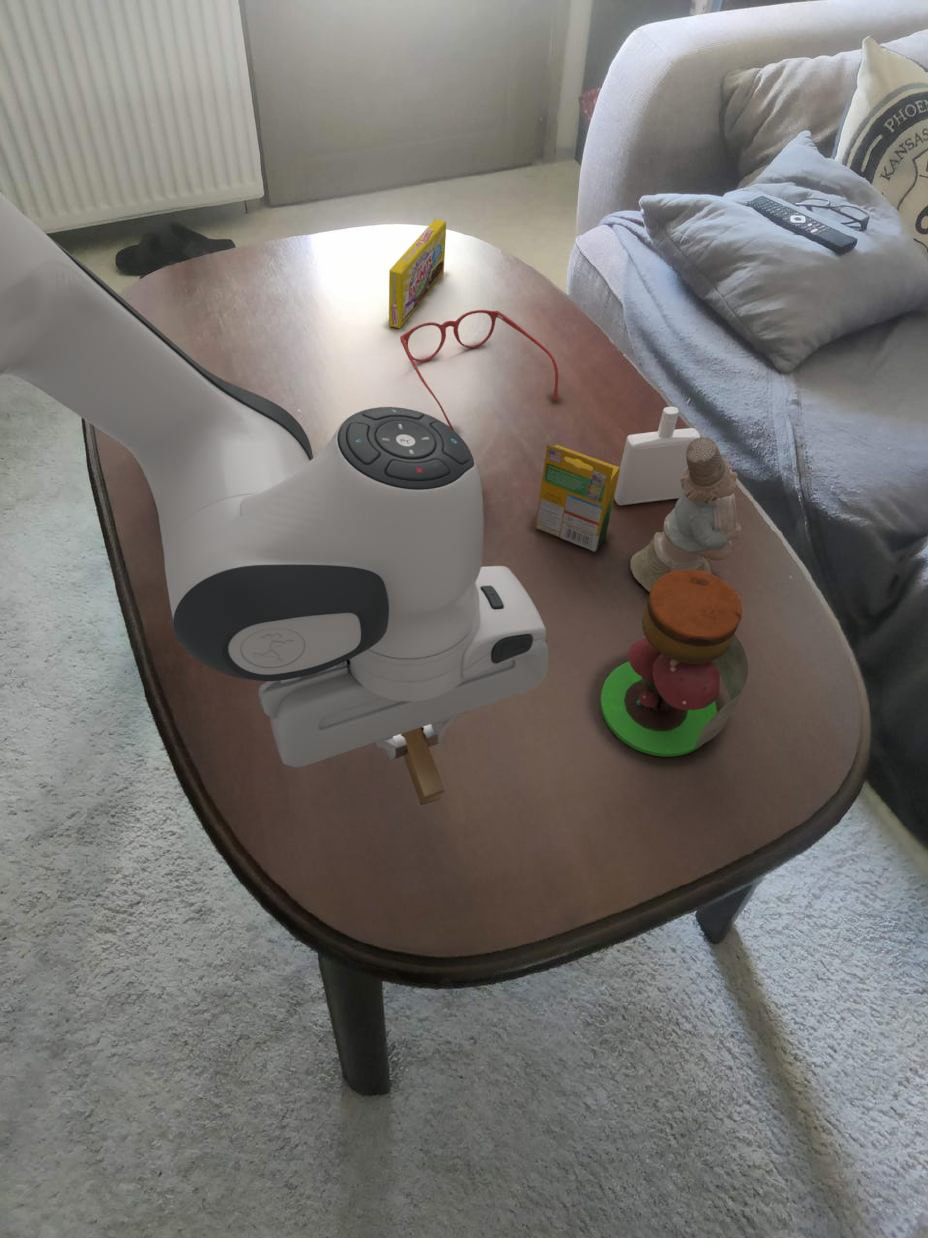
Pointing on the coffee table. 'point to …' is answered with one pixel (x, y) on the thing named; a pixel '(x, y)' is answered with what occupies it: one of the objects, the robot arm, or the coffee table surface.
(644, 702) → the toy burger
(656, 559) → the figurine
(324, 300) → the coffee table surface
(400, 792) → the coffee table surface
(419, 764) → the fork
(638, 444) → the perfume bottle
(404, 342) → the red eyeglasses
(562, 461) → the crayon box
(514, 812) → the coffee table surface
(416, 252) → the candy box
